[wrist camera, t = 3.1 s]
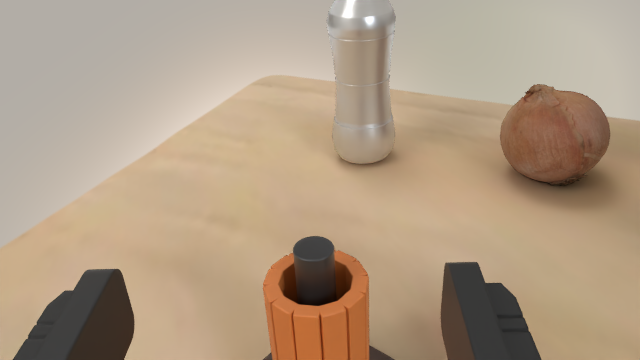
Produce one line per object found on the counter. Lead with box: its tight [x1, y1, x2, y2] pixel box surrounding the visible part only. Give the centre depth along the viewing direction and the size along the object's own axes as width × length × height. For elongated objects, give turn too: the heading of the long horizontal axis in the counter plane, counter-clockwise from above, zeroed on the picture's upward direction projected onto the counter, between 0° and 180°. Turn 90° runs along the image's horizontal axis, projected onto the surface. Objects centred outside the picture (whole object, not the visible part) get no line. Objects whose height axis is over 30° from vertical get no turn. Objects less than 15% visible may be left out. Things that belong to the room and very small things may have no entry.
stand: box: [263, 236, 394, 360], centre depth 30 cm, size 10×10×12 cm
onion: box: [500, 84, 610, 185], centre depth 53 cm, size 10×9×10 cm
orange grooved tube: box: [263, 250, 369, 360], centre depth 31 cm, size 5×5×9 cm
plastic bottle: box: [327, 0, 396, 164], centre depth 55 cm, size 6×7×20 cm
